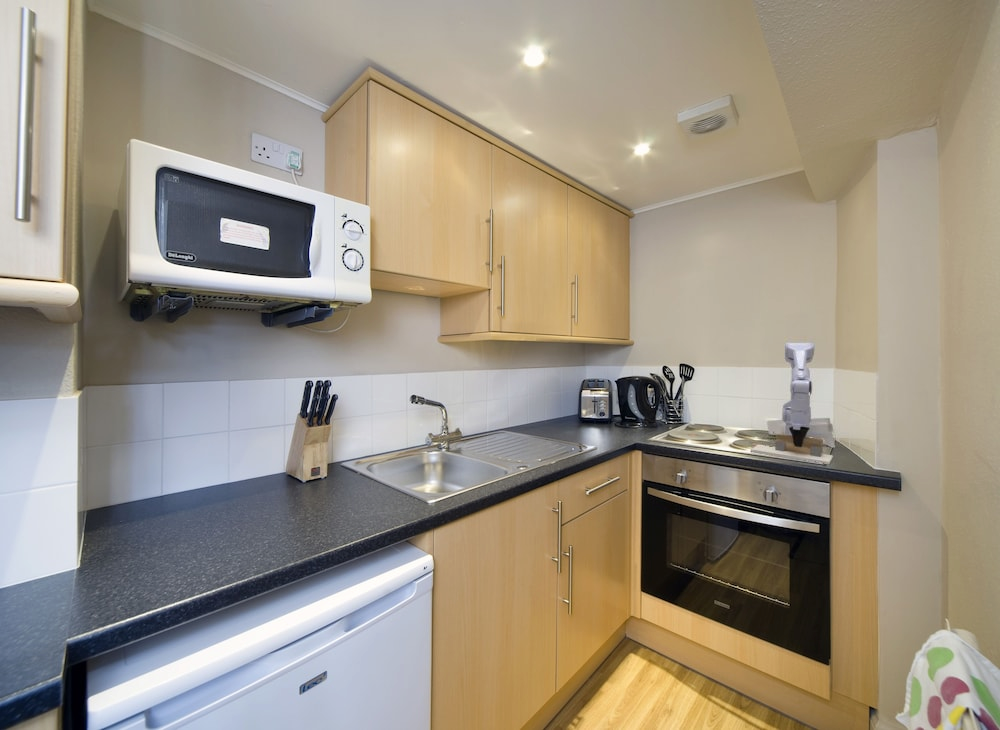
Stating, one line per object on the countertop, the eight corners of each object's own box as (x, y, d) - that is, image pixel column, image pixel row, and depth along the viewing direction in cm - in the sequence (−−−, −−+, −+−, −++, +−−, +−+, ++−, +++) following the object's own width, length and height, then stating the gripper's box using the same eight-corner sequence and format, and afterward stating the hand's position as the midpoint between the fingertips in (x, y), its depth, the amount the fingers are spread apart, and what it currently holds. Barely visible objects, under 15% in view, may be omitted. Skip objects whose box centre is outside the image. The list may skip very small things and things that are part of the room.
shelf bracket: (830, 448, 167) (824, 418, 169) (769, 447, 189) (765, 420, 191) (837, 447, 169) (832, 417, 171) (776, 446, 191) (772, 420, 193)
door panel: (777, 448, 160) (777, 433, 160) (821, 455, 150) (822, 439, 150) (776, 449, 158) (776, 434, 158) (821, 456, 148) (821, 440, 148)
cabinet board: (758, 446, 167) (758, 436, 167) (832, 458, 150) (833, 446, 150) (750, 451, 157) (751, 440, 157) (829, 464, 141) (829, 452, 141)
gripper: (790, 408, 162) (789, 441, 162) (783, 411, 151) (782, 447, 152) (812, 410, 157) (811, 444, 157) (807, 413, 146) (805, 450, 147)
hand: (798, 446), depth 154 cm, fingers closed on door panel, 2 cm apart
